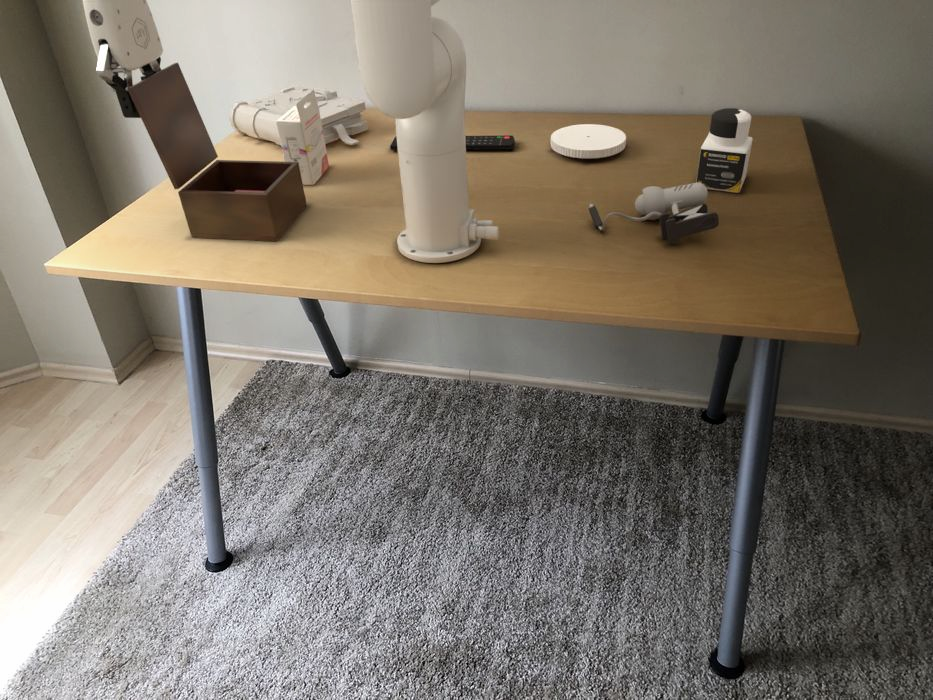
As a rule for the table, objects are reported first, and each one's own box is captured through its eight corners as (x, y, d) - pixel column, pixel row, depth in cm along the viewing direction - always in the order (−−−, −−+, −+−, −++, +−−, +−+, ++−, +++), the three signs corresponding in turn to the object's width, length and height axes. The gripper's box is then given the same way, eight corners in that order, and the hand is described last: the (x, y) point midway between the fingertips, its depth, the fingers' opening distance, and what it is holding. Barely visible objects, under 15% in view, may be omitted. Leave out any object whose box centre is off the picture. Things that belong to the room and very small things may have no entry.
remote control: (396, 142, 146) (395, 136, 146) (515, 142, 143) (515, 135, 142) (390, 152, 142) (390, 145, 141) (513, 152, 139) (513, 145, 138)
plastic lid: (625, 137, 142) (626, 124, 141) (625, 164, 131) (626, 150, 130) (553, 136, 145) (553, 123, 143) (547, 163, 134) (547, 149, 132)
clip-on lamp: (596, 262, 109) (721, 239, 105) (588, 227, 105) (718, 201, 101) (592, 220, 118) (707, 197, 113) (585, 186, 114) (704, 161, 110)
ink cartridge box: (305, 166, 138) (290, 87, 130) (330, 167, 137) (316, 88, 129) (287, 185, 132) (270, 103, 123) (313, 185, 131) (298, 103, 122)
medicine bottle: (694, 188, 122) (705, 116, 115) (703, 172, 127) (713, 103, 120) (739, 193, 119) (752, 121, 112) (745, 177, 124) (758, 106, 117)
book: (317, 164, 139) (310, 124, 135) (231, 136, 154) (222, 100, 150) (388, 134, 151) (384, 97, 146) (302, 111, 166) (296, 76, 161)
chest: (307, 205, 124) (298, 161, 119) (276, 241, 114) (266, 194, 109) (228, 202, 127) (216, 159, 122) (191, 237, 116) (177, 192, 112)
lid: (177, 62, 113) (147, 68, 115) (131, 87, 103) (99, 94, 104) (218, 156, 122) (189, 161, 123) (179, 188, 111) (148, 193, 113)
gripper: (94, -9, 94) (138, 129, 104) (163, -32, 107) (196, 92, 118) (43, -8, 95) (91, 128, 106) (117, -30, 109) (154, 92, 119)
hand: (146, 108), depth 112 cm, fingers closed on lid, 6 cm apart
